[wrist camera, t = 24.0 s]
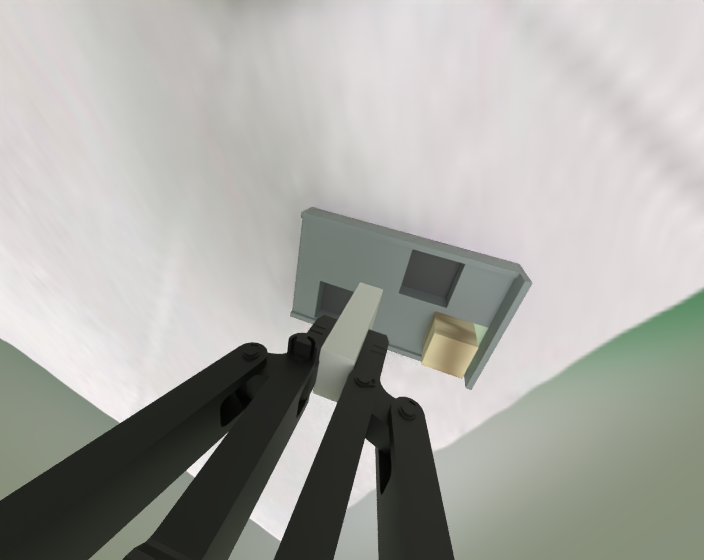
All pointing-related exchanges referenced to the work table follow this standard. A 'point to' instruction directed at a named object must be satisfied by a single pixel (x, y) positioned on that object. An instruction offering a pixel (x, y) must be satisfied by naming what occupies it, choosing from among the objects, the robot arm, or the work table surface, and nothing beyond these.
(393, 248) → the board
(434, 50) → the work table surface
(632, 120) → the work table surface
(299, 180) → the work table surface
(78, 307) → the work table surface
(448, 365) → the block
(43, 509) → the robot arm
